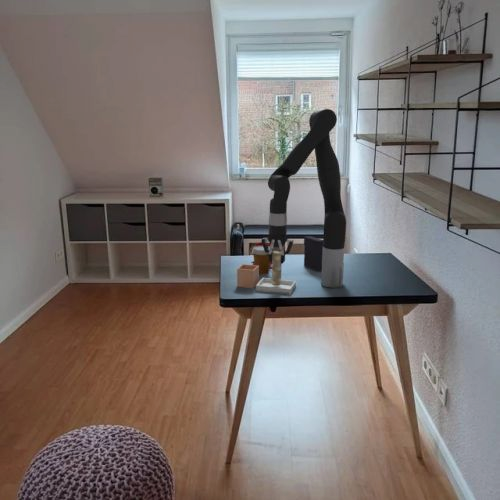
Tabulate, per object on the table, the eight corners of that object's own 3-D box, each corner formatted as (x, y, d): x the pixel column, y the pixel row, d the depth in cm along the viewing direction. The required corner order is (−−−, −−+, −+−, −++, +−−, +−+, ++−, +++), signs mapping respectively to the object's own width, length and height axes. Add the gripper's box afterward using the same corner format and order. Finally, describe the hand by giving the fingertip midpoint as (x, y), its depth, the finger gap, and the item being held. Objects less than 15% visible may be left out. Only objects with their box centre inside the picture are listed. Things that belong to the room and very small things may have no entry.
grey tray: (295, 286, 220) (295, 281, 219) (290, 294, 210) (290, 289, 209) (262, 282, 224) (262, 277, 224) (255, 290, 214) (255, 285, 213)
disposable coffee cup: (270, 276, 234) (270, 251, 230) (250, 274, 235) (250, 249, 232) (273, 270, 243) (273, 246, 239) (253, 268, 244) (254, 244, 241)
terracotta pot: (258, 282, 224) (258, 265, 222) (253, 288, 217) (254, 270, 215) (242, 281, 226) (242, 264, 224) (237, 286, 219) (237, 268, 217)
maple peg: (281, 283, 218) (282, 252, 214) (279, 286, 214) (280, 254, 210) (272, 282, 219) (273, 251, 215) (270, 285, 215) (271, 253, 212)
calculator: (324, 270, 243) (325, 240, 239) (317, 271, 241) (319, 241, 237) (309, 264, 252) (310, 235, 248) (302, 266, 250) (303, 236, 246)
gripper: (296, 222, 211) (295, 261, 216) (263, 220, 215) (263, 258, 220) (292, 226, 204) (291, 266, 209) (258, 223, 208) (258, 263, 213)
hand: (276, 262), depth 214 cm, fingers closed on maple peg, 4 cm apart
